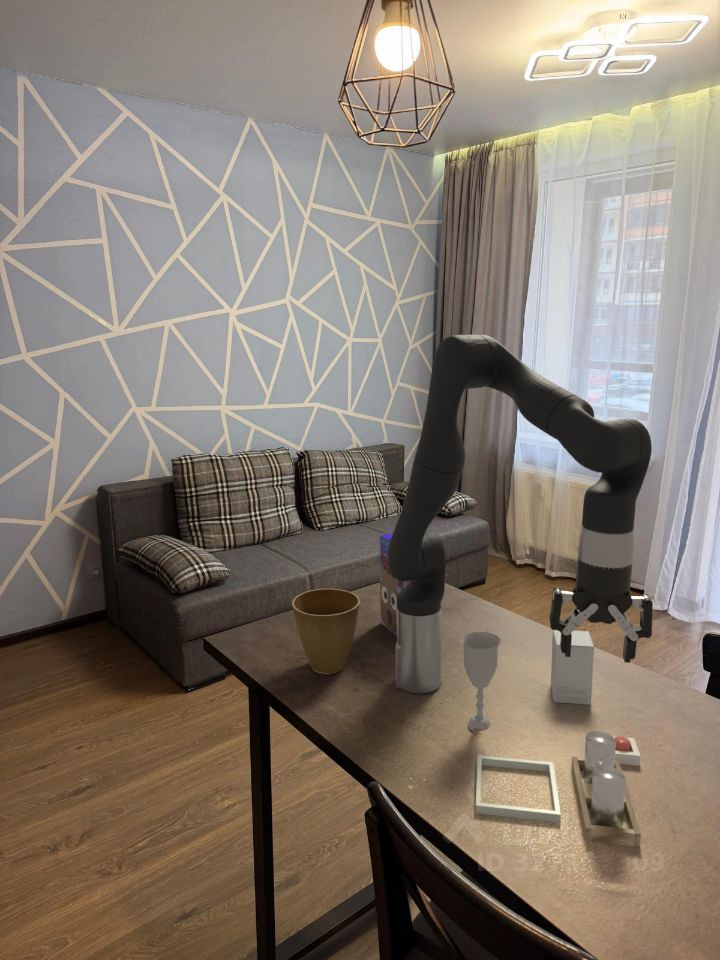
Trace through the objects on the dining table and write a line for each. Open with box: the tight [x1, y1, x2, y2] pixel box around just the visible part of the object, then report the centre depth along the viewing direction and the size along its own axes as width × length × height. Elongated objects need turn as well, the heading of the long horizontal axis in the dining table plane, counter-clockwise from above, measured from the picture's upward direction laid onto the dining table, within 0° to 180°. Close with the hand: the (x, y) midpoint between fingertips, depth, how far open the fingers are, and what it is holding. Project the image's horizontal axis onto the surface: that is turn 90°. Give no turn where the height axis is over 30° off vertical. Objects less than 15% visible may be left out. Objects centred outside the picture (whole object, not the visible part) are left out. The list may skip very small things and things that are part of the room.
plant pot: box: [291, 588, 361, 673], centre depth 146 cm, size 15×15×16 cm
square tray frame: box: [475, 754, 562, 823], centre depth 104 cm, size 12×12×2 cm
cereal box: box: [378, 532, 411, 637], centre depth 160 cm, size 17×5×24 cm, turn 25°
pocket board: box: [571, 755, 642, 848], centre depth 101 cm, size 7×17×3 cm, turn 169°
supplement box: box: [550, 630, 595, 706], centre depth 132 cm, size 7×7×13 cm
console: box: [612, 735, 641, 767], centre depth 112 cm, size 5×5×3 cm
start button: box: [614, 735, 630, 752], centre depth 112 cm, size 3×3×2 cm
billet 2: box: [590, 766, 626, 828], centre depth 96 cm, size 4×4×8 cm
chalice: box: [460, 631, 502, 732], centre depth 121 cm, size 7×7×18 cm
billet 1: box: [583, 730, 616, 784], centre depth 104 cm, size 4×4×8 cm
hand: (596, 657), depth 99 cm, fingers open, 8 cm apart
